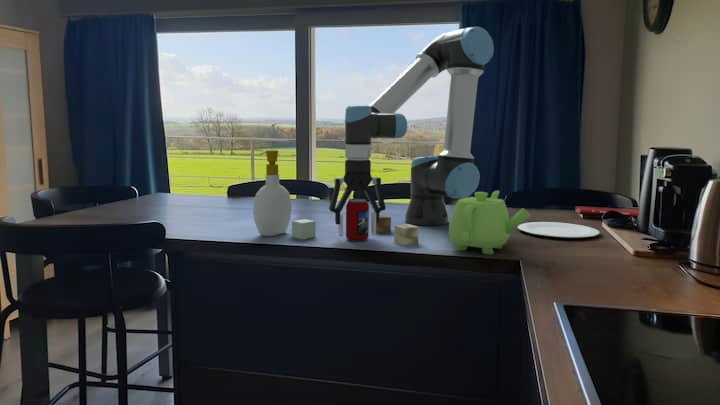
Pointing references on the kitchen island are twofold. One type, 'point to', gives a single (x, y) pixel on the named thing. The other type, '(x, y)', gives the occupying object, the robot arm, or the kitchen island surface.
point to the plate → (558, 230)
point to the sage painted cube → (303, 229)
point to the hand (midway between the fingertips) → (357, 234)
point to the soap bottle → (272, 201)
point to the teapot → (483, 222)
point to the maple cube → (406, 234)
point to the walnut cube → (384, 224)
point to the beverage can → (357, 219)
